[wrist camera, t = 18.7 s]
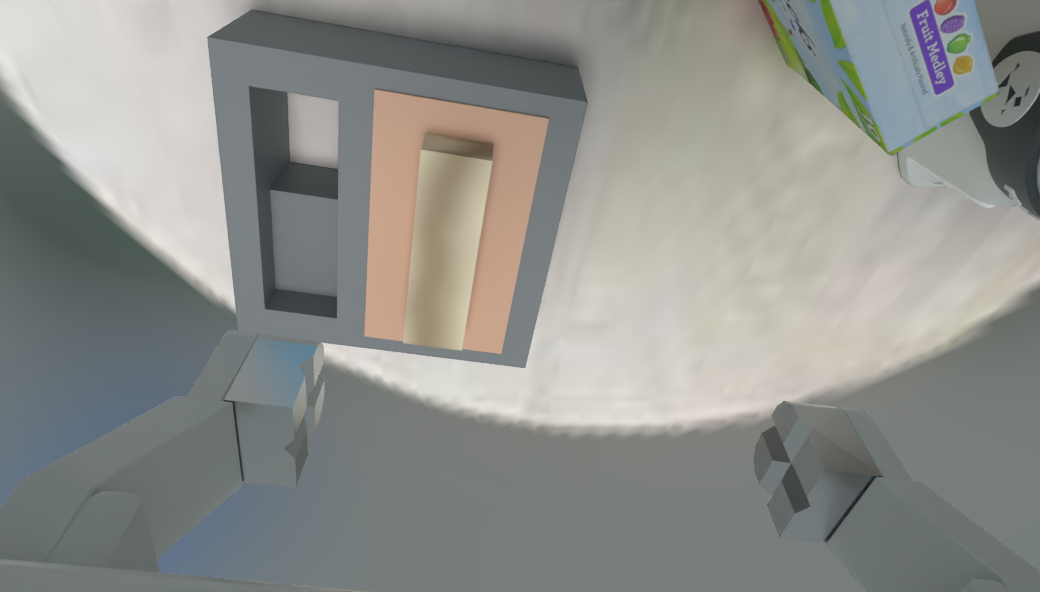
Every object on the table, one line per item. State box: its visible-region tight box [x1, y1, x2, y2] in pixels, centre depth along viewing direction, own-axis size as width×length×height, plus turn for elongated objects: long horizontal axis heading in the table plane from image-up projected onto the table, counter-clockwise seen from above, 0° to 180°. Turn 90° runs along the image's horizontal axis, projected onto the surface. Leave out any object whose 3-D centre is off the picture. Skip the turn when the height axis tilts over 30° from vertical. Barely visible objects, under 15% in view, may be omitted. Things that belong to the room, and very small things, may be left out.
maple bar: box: [403, 133, 494, 351], centre depth 40 cm, size 4×14×2 cm, turn 170°
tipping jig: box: [207, 10, 588, 368], centre depth 44 cm, size 21×20×7 cm
